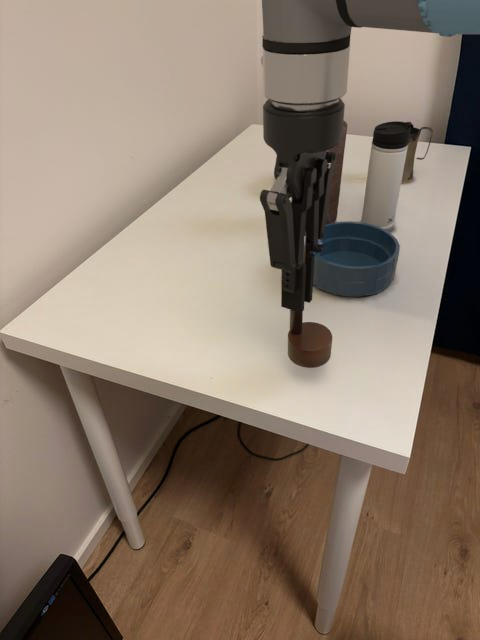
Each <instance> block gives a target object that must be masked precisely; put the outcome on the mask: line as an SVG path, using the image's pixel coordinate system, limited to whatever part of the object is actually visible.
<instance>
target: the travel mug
mask: <svg viewBox="0 0 480 640" xmlns="http://www.w3.org/2000/svg"><path fill="white" fill-rule="evenodd" d="M413 127H414V124H413V123H412V122H411V121H406V122H405V121H397V120H394V121H387V122H383V123H379V124H377V125H376V126H375V127H374V130H373V133H372V141H371V147H370V153H369V161H368V167H367V168H368V169H367V175H366V183H365V189H364V198H363V205H362V212H361V220H360V222H362V223H367V224H371V225H375V226H378V227H380V228H383V229H385V230H386V231H388V232H390V233H391V231H392V230H393V229H394V224H395V218H396V213H397V207H398V201H399V197H400V192H401V188H402V187H401V186H402V183H401V181H402V176H403V170H404V165H405V159H406V154H407V148H408V140H409V135H410V130H411V128H412V129H413Z"/></svg>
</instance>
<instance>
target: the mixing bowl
mask: <svg viewBox="0 0 480 640" xmlns="http://www.w3.org/2000/svg"><path fill="white" fill-rule="evenodd" d="M318 244H320V245H324V249H323V251H322V253H317V252H313V254H315V259H314V276H313V286H315V287H317V288H319V289H321V290H323V291H324V292H328V293H330V294H333V295H335V296H342V297H349V298H350V297H353V298H354V297H356V298H357V297H366V296H369V295H370V296H371V295H375V294H377V293H381V292H382V291H384V290H385V289H387V288H388V287H390V286H391V284H392V283H393V282H394V280H395V275H396V270H397V265H398V261H399V255H400V248H401V245H400V243H399V241H398V238H397V237H396V236H395V235H393V234H392V233H391V231H390V232H388V231H386V230H385V229H383V228H380V227H378V226H375V225H371V224H367V223H362V222H361V221H353V220H350V221H349V220H348V221H346V220H345V221H336V222H335V223H329V224H326V225H325V233H324V237H323V239H322V240H320V239H318Z"/></svg>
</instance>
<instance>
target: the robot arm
mask: <svg viewBox="0 0 480 640" xmlns="http://www.w3.org/2000/svg"><path fill="white" fill-rule="evenodd" d="M261 11H262V14H261V15H262V33H263V34H262V36H261V38H262V41H261V42H262V43H261V45H262V56H261V58H260V65H261V66H262V93H263V96H264V97H265V98H266V101H265V103H263V105H262V129H263V130H262V131H263V133H262V134H263V135H262V136H263V141H264V143H265V144H266V145H267V146H268V147H270V148H271V149H272V150H273V151H274V153H275V154H276V158H275V164H274V169H273V177H274V180H275V181H274V183H273V185H272V187H271V189H270V190H268V189H262V190H261V192H260V194H259V202H260V204H261V206H262V209H263V211H264V218H265V227H266V237H267V238H266V239H267V246H268V247H267V248H268V255H269V263H270V268H273V269H276V270H277V269H278V270H281V279H280V281H281V283H280V284H281V285H280V288H281V291H280V293H281V295H280V297H281V299H280V308H281V307H282V308H283V309H286V310H289V311H290V310H293V311H296V312H299V313H302V312H303V313H304V311H305V303H308V304H310V303H311V302H312V301H313V292H314V291H313V290H314V284H313V276H314V259H315V254H313V252H317V253H322V251H323V249H324V245H320V244H318V239H320V240H322V239H323V237H324V233H325V225H326V218H327V210H328V203H329V195H330V188H331V180H332V174H333V170H334V166H335V162H336V158H337V153H336V152H333V151H327V150H329V149H331V148H333V147H335V146H336V145H337V144H338V143H339V142H340V141H341V139H342V132H343V120H344V121H345V119H344V118H345V107H346V105H345V102H344V101H343V99H342V98H343V97H344V96H345V95H347V91H348V79H349V78H348V77H349V76H348V75H349V65H350V53H351V35H352V29H353V28H358V29H359V28H360V29H361V28H371V29H381V30H382V29H383V30H392V31H393V30H395V31H406V32H418V33H428V34H429V33H430V34H439V36H440V37H446V38H451V37H454V36H456V35H480V0H261ZM305 230H306V255H305V264H304V263H302V262H303V250H304V237H305Z"/></svg>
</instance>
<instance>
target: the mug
mask: <svg viewBox="0 0 480 640" xmlns="http://www.w3.org/2000/svg"><path fill="white" fill-rule="evenodd" d="M422 130H429V131H430V137H429V142H428V146H427V148H426V153H425V154H424V157H416V152H417V148H418V143H419V139H420V135H421V132H422ZM433 134H434V130H433V128H431V127H430V126H422V127H420V128H418V127H414V126H413V129H412V128H411V130H410V135H409V140H408V148H407V154H406V159H405V165H404V170H403V176H402V181H401V184H407V183H411V182H412V181H413V179H414V177H413V176H414V165H415V158H416V160H419V161H422V160H424V159H426V156H427V154H428V152H429V148H430V146H431V143H432V142H431V141H432V138H433Z"/></svg>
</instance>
